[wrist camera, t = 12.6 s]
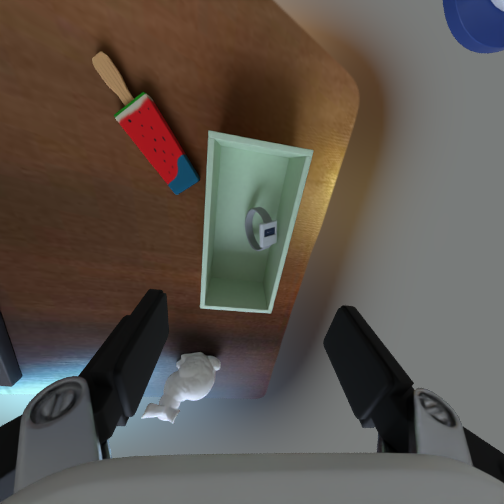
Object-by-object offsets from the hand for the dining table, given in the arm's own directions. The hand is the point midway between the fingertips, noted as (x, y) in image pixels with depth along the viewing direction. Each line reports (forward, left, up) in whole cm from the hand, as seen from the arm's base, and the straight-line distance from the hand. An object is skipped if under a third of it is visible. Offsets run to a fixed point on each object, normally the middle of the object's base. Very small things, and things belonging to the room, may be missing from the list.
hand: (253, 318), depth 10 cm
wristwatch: (0, +1, -20) cm, 20 cm away
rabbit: (+19, +30, -21) cm, 41 cm away
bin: (0, +1, -20) cm, 20 cm away
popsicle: (+9, -13, -20) cm, 26 cm away
